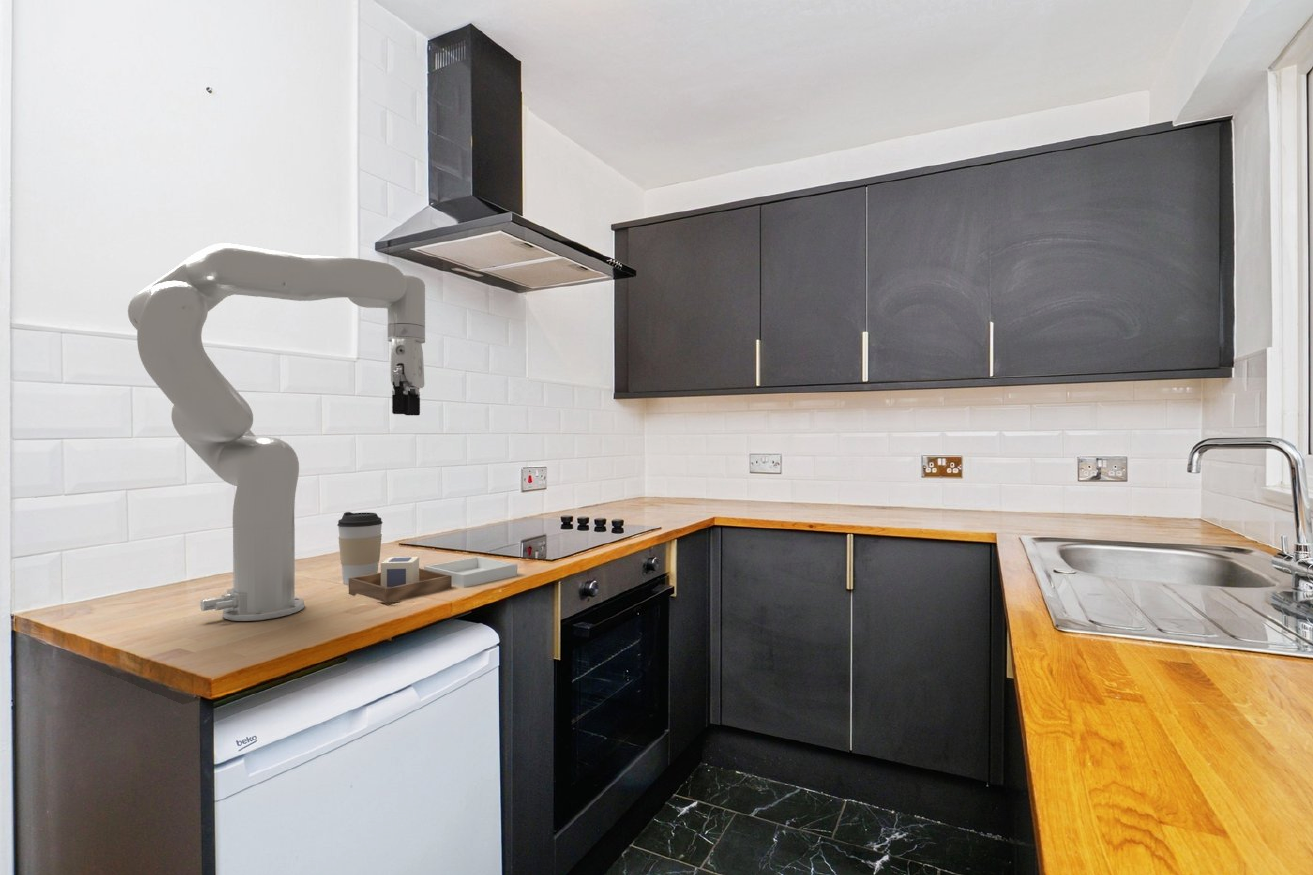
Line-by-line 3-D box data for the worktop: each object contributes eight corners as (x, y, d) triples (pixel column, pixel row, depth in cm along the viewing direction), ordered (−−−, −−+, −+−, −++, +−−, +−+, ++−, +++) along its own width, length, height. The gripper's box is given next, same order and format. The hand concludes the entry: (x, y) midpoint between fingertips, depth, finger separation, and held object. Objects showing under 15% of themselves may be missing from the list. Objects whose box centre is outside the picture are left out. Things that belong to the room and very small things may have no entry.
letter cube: (412, 592, 128) (412, 562, 128) (380, 593, 127) (380, 562, 127) (419, 585, 134) (419, 556, 134) (389, 586, 133) (389, 556, 133)
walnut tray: (386, 605, 121) (386, 588, 121) (348, 593, 129) (348, 578, 129) (451, 590, 132) (451, 575, 132) (412, 580, 141) (412, 566, 141)
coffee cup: (390, 576, 145) (390, 510, 144) (368, 586, 136) (368, 515, 135) (352, 576, 145) (352, 509, 145) (328, 585, 136) (328, 514, 136)
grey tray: (463, 590, 133) (463, 575, 133) (424, 580, 141) (424, 566, 141) (517, 577, 144) (517, 564, 144) (477, 569, 152) (477, 556, 152)
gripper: (414, 329, 130) (415, 413, 130) (433, 341, 147) (433, 415, 147) (376, 328, 129) (376, 413, 129) (399, 340, 146) (399, 415, 146)
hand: (406, 414), depth 138 cm, fingers open, 9 cm apart
